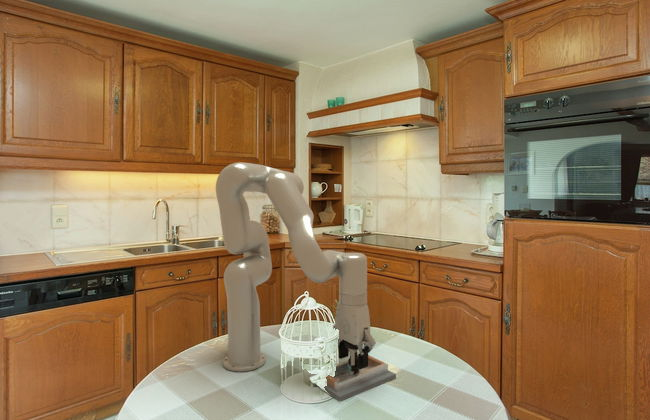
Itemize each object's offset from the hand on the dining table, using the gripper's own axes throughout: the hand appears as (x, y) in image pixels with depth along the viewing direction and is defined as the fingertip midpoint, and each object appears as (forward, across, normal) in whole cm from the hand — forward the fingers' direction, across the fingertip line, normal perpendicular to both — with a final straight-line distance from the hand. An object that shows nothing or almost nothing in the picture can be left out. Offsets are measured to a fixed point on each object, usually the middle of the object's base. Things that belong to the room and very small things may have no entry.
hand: (353, 362), depth 108 cm
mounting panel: (+5, 0, 0) cm, 5 cm away
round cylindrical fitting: (+4, 0, 0) cm, 4 cm away
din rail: (+4, 0, 0) cm, 4 cm away
